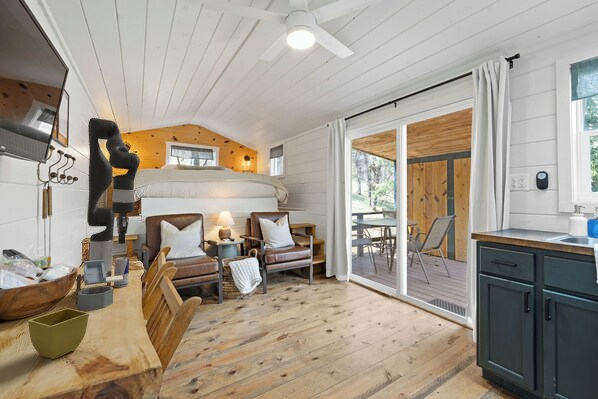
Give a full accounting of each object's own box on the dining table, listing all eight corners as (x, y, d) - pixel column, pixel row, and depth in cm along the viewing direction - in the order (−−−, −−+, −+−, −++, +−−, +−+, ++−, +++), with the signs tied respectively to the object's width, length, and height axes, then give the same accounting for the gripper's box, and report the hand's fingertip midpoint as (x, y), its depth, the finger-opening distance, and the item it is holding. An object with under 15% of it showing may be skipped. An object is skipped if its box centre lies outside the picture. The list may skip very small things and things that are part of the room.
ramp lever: (81, 271, 113) (82, 261, 112) (118, 268, 121) (119, 258, 120) (82, 289, 102) (82, 277, 101) (122, 283, 110) (123, 273, 109)
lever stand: (75, 291, 113) (76, 270, 113) (108, 287, 119) (109, 267, 120) (75, 304, 99) (76, 280, 99) (112, 298, 106) (113, 275, 106)
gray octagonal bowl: (77, 303, 101) (78, 289, 101) (110, 297, 107) (111, 284, 107) (77, 312, 93) (78, 297, 93) (113, 305, 99) (114, 291, 99)
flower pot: (25, 357, 66) (26, 319, 66) (66, 341, 74) (68, 307, 74) (48, 366, 63) (50, 326, 63) (88, 348, 71) (90, 312, 71)
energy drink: (131, 284, 124) (132, 257, 124) (122, 287, 119) (123, 259, 119) (119, 283, 125) (120, 256, 125) (110, 287, 120) (111, 259, 120)
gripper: (110, 200, 116) (108, 241, 116) (113, 201, 106) (112, 246, 106) (131, 200, 121) (129, 240, 121) (136, 201, 111) (134, 245, 111)
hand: (121, 243), depth 114 cm, fingers closed
